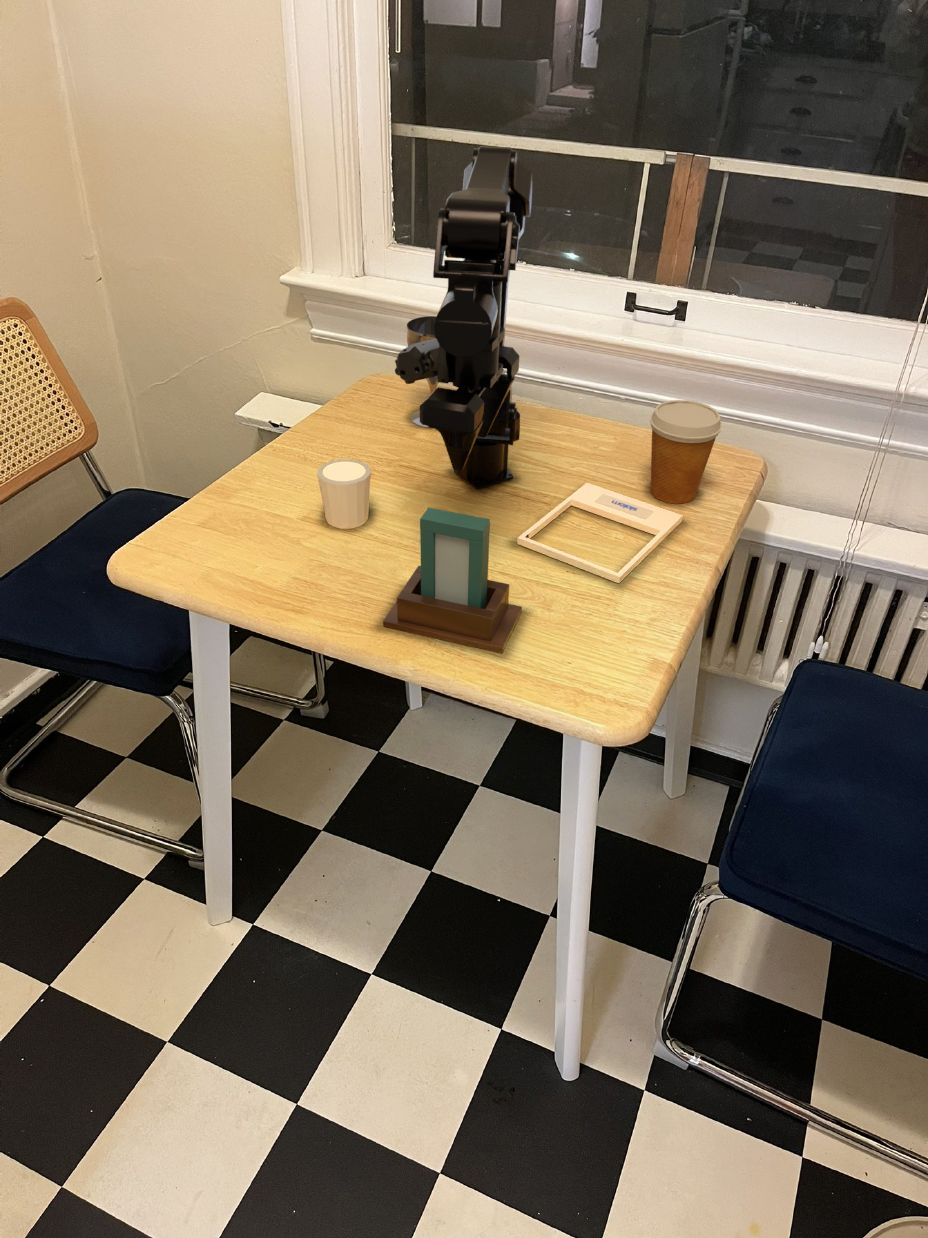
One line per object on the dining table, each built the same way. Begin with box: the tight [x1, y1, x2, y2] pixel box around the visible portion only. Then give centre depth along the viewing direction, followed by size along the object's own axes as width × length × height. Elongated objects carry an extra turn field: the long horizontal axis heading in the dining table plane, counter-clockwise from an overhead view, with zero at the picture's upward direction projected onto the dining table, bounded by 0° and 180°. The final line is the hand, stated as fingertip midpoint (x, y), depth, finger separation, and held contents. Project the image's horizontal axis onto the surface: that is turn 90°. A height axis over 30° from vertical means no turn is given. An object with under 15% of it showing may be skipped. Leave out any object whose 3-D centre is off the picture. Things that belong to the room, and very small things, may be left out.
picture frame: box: [419, 507, 491, 609], centre depth 99 cm, size 2×7×12 cm, turn 71°
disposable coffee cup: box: [649, 399, 723, 504], centre depth 124 cm, size 10×10×12 cm
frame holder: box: [382, 565, 523, 654], centre depth 102 cm, size 8×14×4 cm, turn 72°
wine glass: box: [406, 315, 440, 429], centre depth 141 cm, size 8×8×15 cm
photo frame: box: [516, 482, 684, 584], centre depth 118 cm, size 15×1×18 cm
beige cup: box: [316, 458, 372, 530], centre depth 119 cm, size 7×7×7 cm
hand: (470, 452), depth 108 cm, fingers open, 9 cm apart
